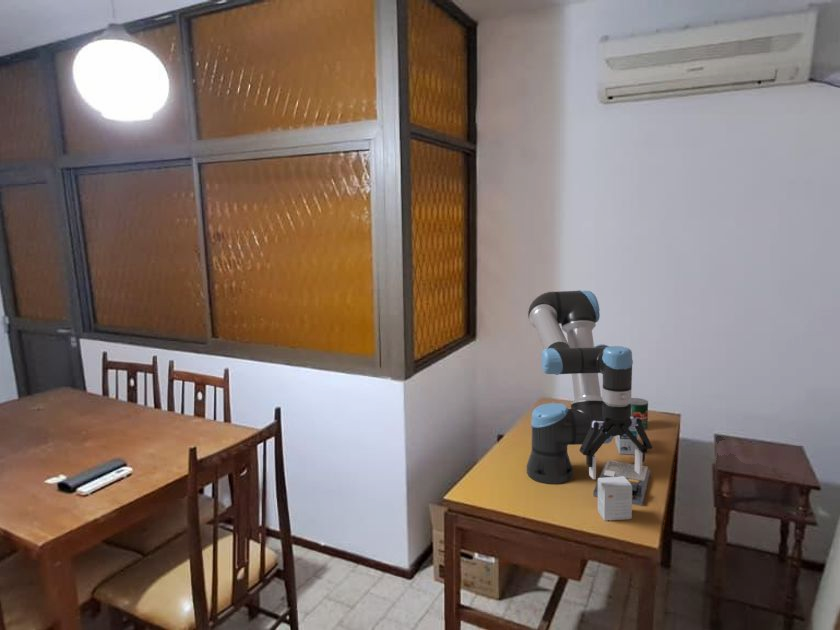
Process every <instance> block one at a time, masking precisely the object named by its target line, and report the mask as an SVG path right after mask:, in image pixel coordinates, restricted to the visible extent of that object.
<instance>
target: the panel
mask: <svg viewBox="0 0 840 630" xmlns="http://www.w3.org/2000/svg"><path fill="white" fill-rule="evenodd" d="M648 467H649V466H646V465H645V466H644V465H642V475H639V474H638V473H637V472H636V471H635V463H634V464H633V463H628V462H627V463H626V462H621V461H614V460H611V459H607V461H606V462H605V463H604V466H603V468H602V470H601V473H600V475H599V477H598V478H603V477H604V473H605V470H609V471H615V477H620V476H624V477H625V478H626V479H627V480H628V479H633V480H639V487H638V489H637V490H636V491H634V490H632V505H636V506H639V507H643V505H644V500H645V497H646V492H647V489H646V488H647V487H648V483H649V479H650V475H651V470H650V469H649V468H648ZM592 495H593V497H596V498H598V481H597V482H596V485H595V487H594V490H593V494H592Z"/></svg>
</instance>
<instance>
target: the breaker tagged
mask: <svg viewBox="0 0 840 630" xmlns="http://www.w3.org/2000/svg"><path fill="white" fill-rule="evenodd" d="M628 481H629V482H630V484H631V485H632V490H634V491H636V490H637V489H638V487H639V480H633V479H628Z"/></svg>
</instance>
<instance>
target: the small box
mask: <svg viewBox="0 0 840 630" xmlns="http://www.w3.org/2000/svg"><path fill="white" fill-rule="evenodd" d="M597 482H598V497H597V512H598V513H599V514H600V517H601V518H602V519H603V521H604V522H605V521H608V520H609V521H619V520H631V519H632V517H633V512H632V510H633V508H632V507H633V504H632V485H631V484H630V482H629V481H628V480H627V479H626V478H625V477H624V476H620V477H605V478H599V477H597Z"/></svg>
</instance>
